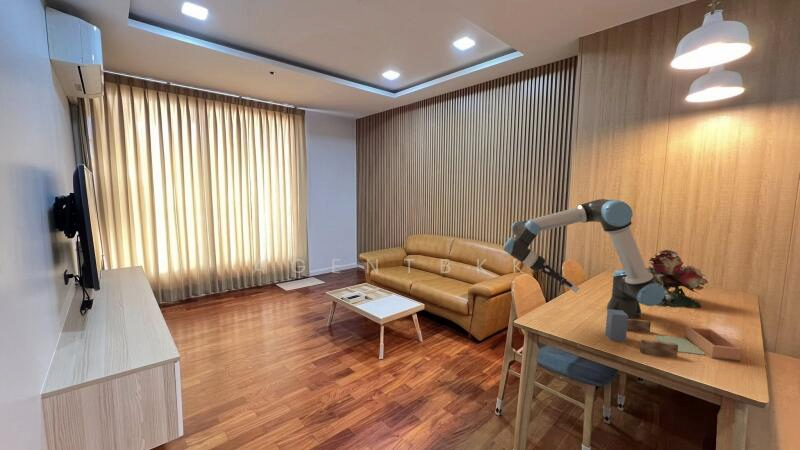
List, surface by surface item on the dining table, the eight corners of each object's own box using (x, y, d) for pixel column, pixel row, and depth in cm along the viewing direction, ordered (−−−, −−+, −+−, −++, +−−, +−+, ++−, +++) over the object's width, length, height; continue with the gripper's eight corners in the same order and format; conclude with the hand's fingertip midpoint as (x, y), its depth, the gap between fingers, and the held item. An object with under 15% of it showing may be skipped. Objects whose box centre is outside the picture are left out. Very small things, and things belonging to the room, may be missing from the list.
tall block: (620, 335, 146) (622, 310, 145) (625, 342, 141) (628, 315, 139) (605, 334, 148) (607, 309, 146) (610, 340, 142) (612, 314, 141)
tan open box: (709, 340, 142) (711, 329, 142) (740, 361, 125) (741, 349, 125) (685, 337, 145) (686, 326, 144) (711, 358, 128) (713, 346, 127)
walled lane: (648, 331, 151) (649, 320, 150) (676, 357, 128) (678, 345, 127) (618, 328, 154) (619, 317, 154) (641, 353, 131) (642, 341, 131)
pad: (685, 339, 143) (685, 338, 143) (705, 355, 130) (705, 354, 130) (653, 335, 146) (653, 335, 146) (670, 351, 133) (670, 350, 133)
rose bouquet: (712, 308, 180) (719, 255, 176) (659, 307, 180) (664, 254, 177) (674, 292, 205) (679, 246, 202) (627, 292, 206) (632, 245, 202)
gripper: (525, 264, 169) (562, 288, 165) (533, 270, 145) (576, 299, 141) (534, 252, 168) (571, 277, 164) (543, 257, 144) (587, 286, 140)
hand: (573, 287), depth 153 cm, fingers open, 13 cm apart
